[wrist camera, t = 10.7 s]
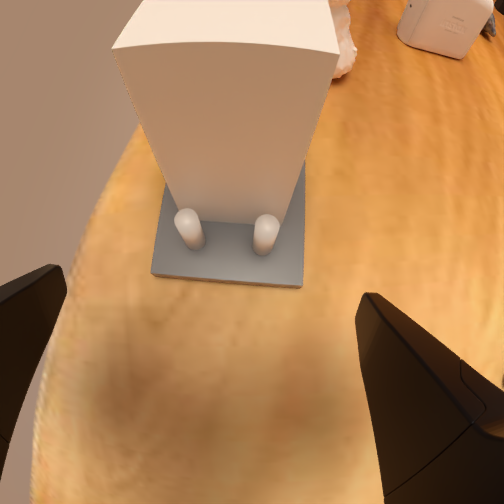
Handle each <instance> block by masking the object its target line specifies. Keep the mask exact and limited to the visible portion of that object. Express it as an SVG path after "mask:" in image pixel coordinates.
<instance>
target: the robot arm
mask: <svg viewBox="0 0 504 504" xmlns="http://www.w3.org/2000/svg"><path fill="white" fill-rule="evenodd" d="M66 294H67V286H66V282H65V278H64V275H63V271H62V268H61V267H60V266H59V265H54V264H48V265H45V266H43V267H41V268H39V269H36V270H34V271H32V272H30V273H28V274H25V275H23V276H21V277H19V278H17V279H15V280H12V281H10V282H8V283H6V284H4V285H2V286H0V480H1V476H2V471H3V467H4V463H5V460H6V456H7V452H8V449H9V443H10V441H11V437H12V434H13V431H14V428H15V425H16V422H17V419H18V416H19V413H20V410H21V407H22V404H23V402H24V399H25V396H26V394H27V391H28V388H29V386H30V383H31V381H32V378H33V376H34V373H35V371H36V368H37V366H38V364H39V361H40V359H41V356H42V354H43V352H44V350H45V348H46V345H47V343H48V341H49V339H50V336H51V334H52V332H53V329H54V326H55V324H56V321H57V318H58V315H59V313H60V310H61V308H62V305H63V302H64V300H65V297H66ZM355 326H356V334H357V342H358V351H359V360H360V367H361V372H362V377H363V382H364V386H365V391H366V396H367V401H368V405H369V410H370V416H371V421H372V426H373V431H374V437H375V443H376V449H377V455H378V461H379V467H380V474H381V481H382V488H383V495H384V497H385V498H384V504H504V391H502V390H501V389H500V388H498V387H497V386H495V385H494V384H493V383H491V382H490V381H489V380H487V379H486V378H485V377H483V376H482V375H481V374H479V373H478V372H477V371H476V370H474V369H473V368H472V367H471V366H470V365H468V364H467V363H466V362H465V361H464V360H462V359H461V360H460V357H459V356H457V355H456V354H455V353H454V352H452V351H451V350H450V349H449V348H447V347H446V346H445V345H444V344H443V343H441V342H440V341H439V340H438V339H436V338H435V337H434V336H433V335H431V334H430V333H429V332H427V331H426V330H425V329H424V328H422V327H421V326H420V325H419V324H417V323H416V322H415V321H413V320H412V319H411V318H410V317H408V316H407V315H406V314H404V313H403V312H402V311H401V310H399V309H398V308H397V307H395V306H394V305H393V304H391V303H390V302H389V301H388V300H386V299H385V298H384V297H382V296H381V295H380V294H378V293H369V292H366V293H364V294H363V296H362V298H361V301H360V304H359V307H358V310H357V313H356V316H355Z"/></svg>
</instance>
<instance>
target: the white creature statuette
mask: <svg viewBox="0 0 504 504" xmlns="http://www.w3.org/2000/svg"><path fill="white" fill-rule="evenodd" d="M350 1H351V0H328V3H329V7H330V11H331V15H332V19H333V24H334V28H335V32H336V37H337V42H338V46H339V51H340V57H339V60H338V63H337V66H336V69H335V72H334V75H333V78H340V77H341V76H342V75H343V74H346V73H347V72H349V71H351V69H352V66H353V63H354V62H355V57H356V55H357V53H356V51H357V48H356V47H355V46H354V43H353V41H352V39H351V34H350V32H349V30H350V29H349V25H350V24H351V21H350V13H349V11H348V7H347V6H346V4H347V3H349V2H350ZM333 78H332V79H333Z"/></svg>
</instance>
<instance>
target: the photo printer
mask: <svg viewBox="0 0 504 504" xmlns="http://www.w3.org/2000/svg"><path fill="white" fill-rule="evenodd" d="M493 7H494V4H493V0H409V1H408V3H407V5H406V8H405V10H404V12H403V15H402V17H401V19H400V22H399V24H398V27H397V29H398V31H397V35H398V37H399V39H400V40H401V41H402V42H403V43H405V44H407V45H409V46H412V47H415V48H419V49H422V50H426V51H430V52H434V53H437V54H441V55H445V56H449V57H452V58H456V59H462V58H463V57H464V56H465V55H466V53H467V52H468V50H469V49H470V47H471V46H472V44H473V43H474V41H475V40H476V38H477V37H478V35H479V33H480V32H481V30H482V29H483V27H484V25H485V24H486V22H487V20H488V19H489V17H490V16H491V14H492V12H493Z"/></svg>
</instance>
